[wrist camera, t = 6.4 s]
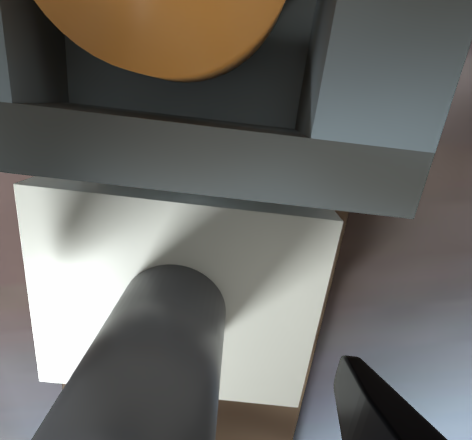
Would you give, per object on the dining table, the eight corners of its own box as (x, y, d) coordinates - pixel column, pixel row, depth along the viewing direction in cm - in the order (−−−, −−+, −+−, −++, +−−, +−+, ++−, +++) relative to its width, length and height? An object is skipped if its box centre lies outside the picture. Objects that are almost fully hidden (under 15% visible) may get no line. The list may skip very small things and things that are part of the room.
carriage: (288, 356, 14) (336, 626, 7) (73, 334, 13) (-110, 585, 6) (323, 197, 11) (456, 358, 4) (60, 166, 11) (-259, 281, 4)
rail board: (269, 495, 21) (283, 694, 14) (85, 477, 21) (4, 670, 14) (404, -83, 11) (717, -438, 4) (38, -130, 10) (-386, -609, 3)
